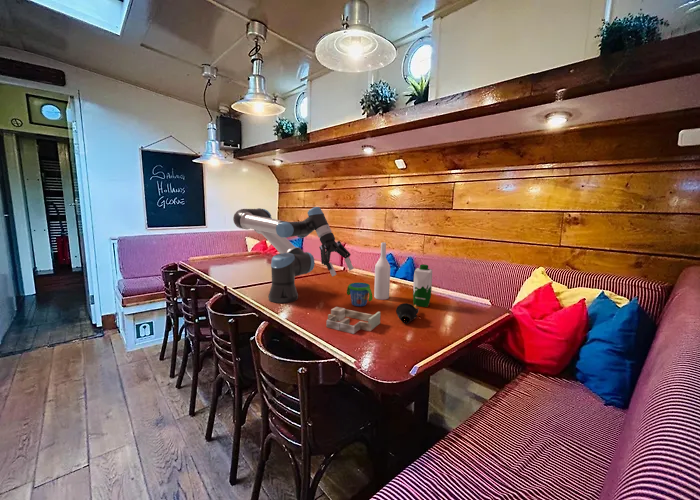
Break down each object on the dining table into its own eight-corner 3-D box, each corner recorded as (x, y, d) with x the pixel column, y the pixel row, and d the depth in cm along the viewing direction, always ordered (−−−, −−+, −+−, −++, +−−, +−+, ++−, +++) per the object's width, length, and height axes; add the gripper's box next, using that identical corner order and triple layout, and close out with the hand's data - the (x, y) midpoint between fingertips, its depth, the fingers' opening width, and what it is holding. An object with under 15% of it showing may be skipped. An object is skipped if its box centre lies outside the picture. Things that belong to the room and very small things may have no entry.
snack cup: (341, 302, 158) (341, 283, 156) (356, 298, 164) (357, 280, 163) (361, 310, 146) (361, 290, 144) (377, 306, 152) (378, 286, 151)
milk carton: (431, 303, 159) (433, 265, 156) (429, 308, 151) (431, 268, 148) (414, 300, 163) (416, 263, 160) (411, 305, 154) (413, 266, 151)
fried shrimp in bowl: (391, 314, 129) (395, 290, 145) (401, 334, 133) (404, 308, 148) (412, 309, 126) (414, 285, 141) (422, 329, 129) (423, 303, 145)
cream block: (330, 319, 135) (331, 309, 134) (336, 316, 139) (336, 306, 138) (339, 321, 133) (339, 311, 132) (344, 318, 136) (345, 308, 136)
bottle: (378, 294, 173) (380, 241, 168) (391, 297, 168) (393, 242, 164) (371, 297, 166) (373, 242, 162) (384, 300, 162) (386, 244, 157)
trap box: (320, 325, 127) (320, 314, 127) (339, 314, 141) (340, 303, 140) (363, 336, 118) (364, 324, 117) (380, 323, 131) (380, 311, 131)
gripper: (312, 235, 147) (331, 275, 144) (345, 229, 166) (362, 264, 163) (303, 242, 152) (321, 281, 148) (336, 235, 171) (353, 269, 167)
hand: (343, 272), depth 156 cm, fingers open, 13 cm apart
